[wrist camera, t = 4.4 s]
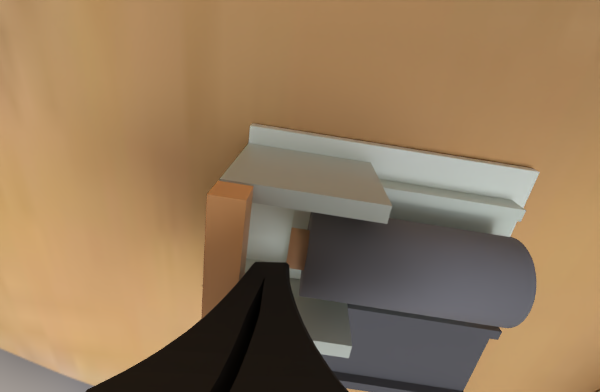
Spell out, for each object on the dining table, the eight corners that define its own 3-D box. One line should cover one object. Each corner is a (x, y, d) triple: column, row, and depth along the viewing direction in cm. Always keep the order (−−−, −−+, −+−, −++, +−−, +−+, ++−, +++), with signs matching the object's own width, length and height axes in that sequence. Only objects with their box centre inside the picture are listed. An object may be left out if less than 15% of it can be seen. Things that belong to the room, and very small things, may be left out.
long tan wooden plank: (253, 186, 11) (246, 200, 10) (235, 369, 14) (227, 395, 13) (217, 180, 11) (206, 194, 10) (207, 365, 14) (198, 391, 13)
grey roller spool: (514, 224, 16) (573, 274, 12) (484, 290, 18) (528, 352, 14) (297, 189, 16) (291, 229, 12) (286, 259, 17) (278, 313, 14)
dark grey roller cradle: (491, 316, 20) (501, 331, 19) (456, 388, 23) (463, 405, 21) (295, 286, 20) (294, 299, 19) (282, 362, 22) (280, 378, 21)
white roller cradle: (532, 168, 16) (632, 220, 11) (469, 309, 20) (522, 399, 15) (252, 123, 16) (221, 155, 11) (238, 273, 20) (209, 351, 15)
